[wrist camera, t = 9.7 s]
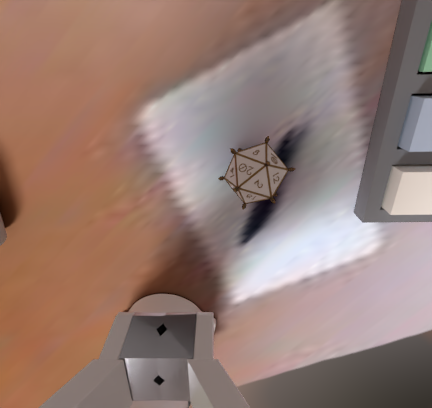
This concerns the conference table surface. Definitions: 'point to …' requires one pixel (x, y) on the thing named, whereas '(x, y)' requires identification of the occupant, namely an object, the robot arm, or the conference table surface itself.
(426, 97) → the slate blue button
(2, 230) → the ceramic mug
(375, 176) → the button panel
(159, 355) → the robot arm
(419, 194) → the cream button
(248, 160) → the game die
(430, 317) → the conference table surface
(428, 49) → the green button
